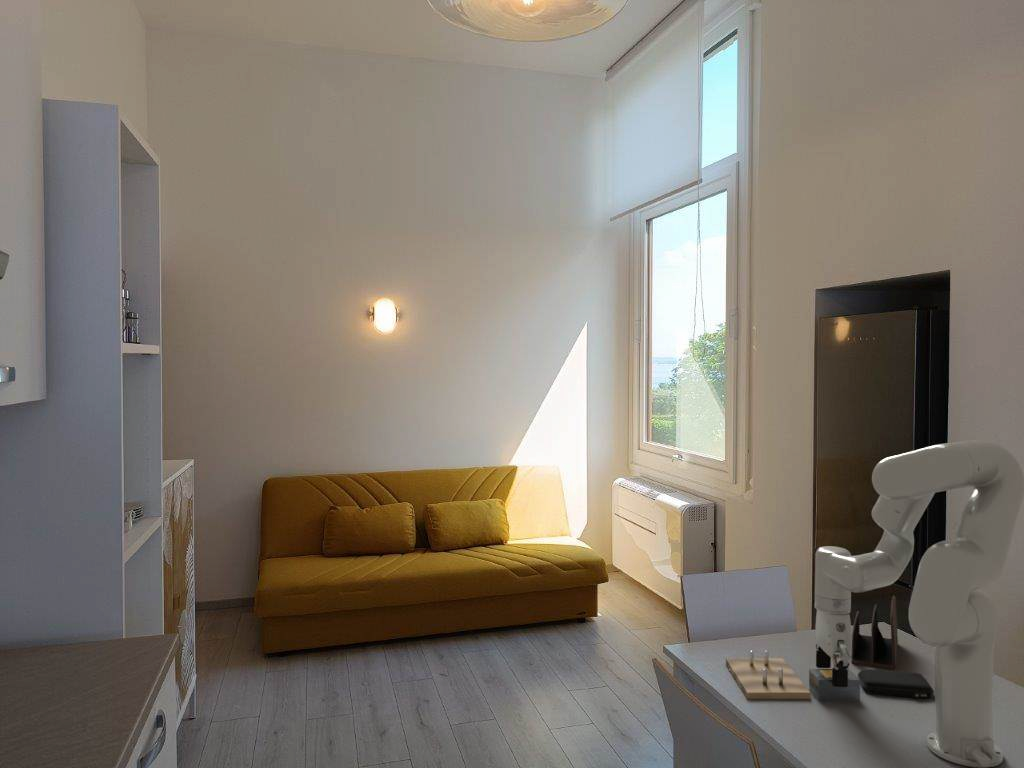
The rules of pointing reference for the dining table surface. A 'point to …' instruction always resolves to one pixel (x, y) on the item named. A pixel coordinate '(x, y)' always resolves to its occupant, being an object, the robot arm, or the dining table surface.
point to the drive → (827, 692)
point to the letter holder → (875, 642)
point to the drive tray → (767, 678)
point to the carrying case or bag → (895, 683)
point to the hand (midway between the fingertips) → (831, 676)
